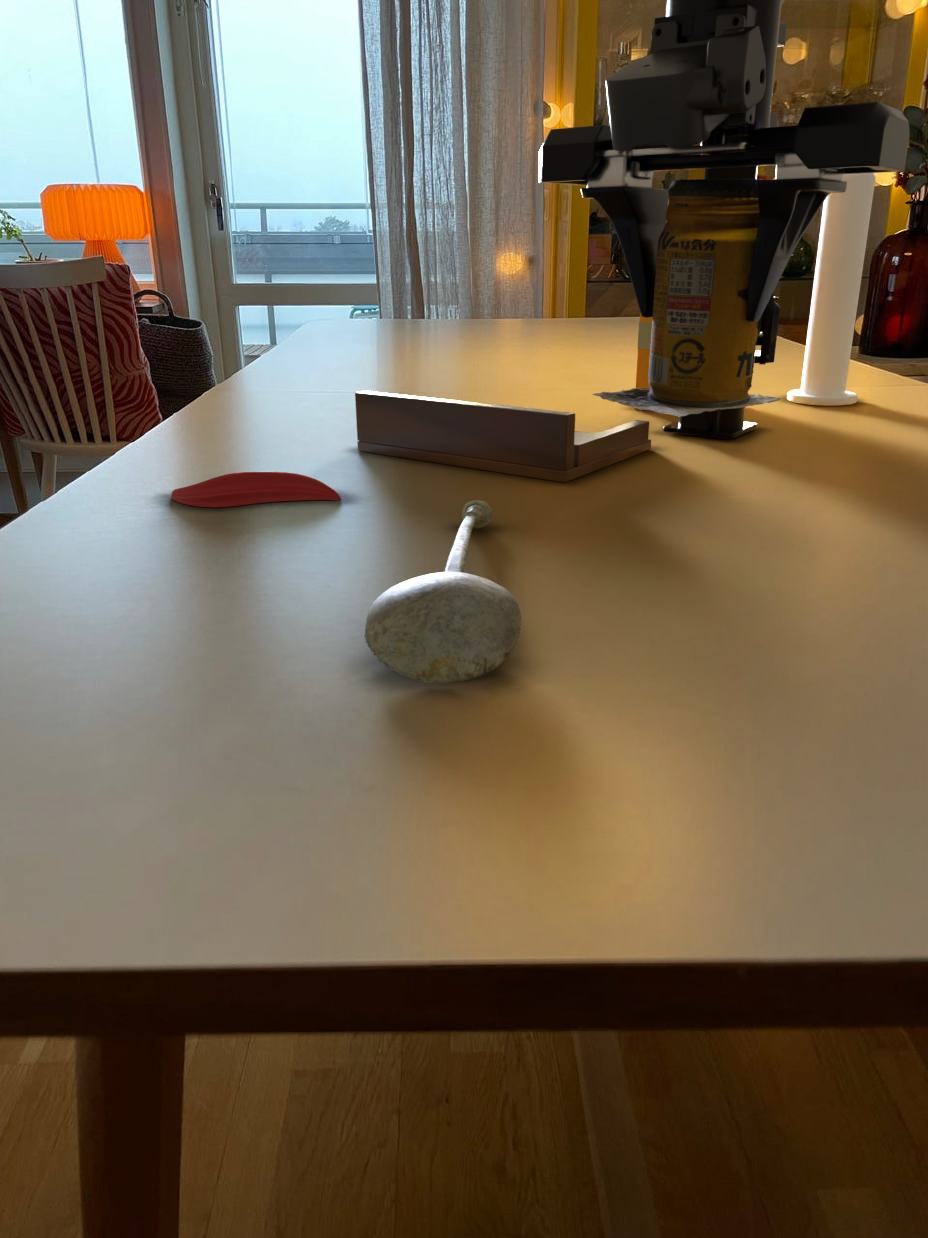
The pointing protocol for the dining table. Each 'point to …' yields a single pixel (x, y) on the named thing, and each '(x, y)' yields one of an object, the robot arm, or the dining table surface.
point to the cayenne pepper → (253, 489)
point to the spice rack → (491, 436)
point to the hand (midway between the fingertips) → (698, 318)
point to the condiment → (702, 302)
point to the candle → (836, 294)
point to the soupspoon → (446, 618)
